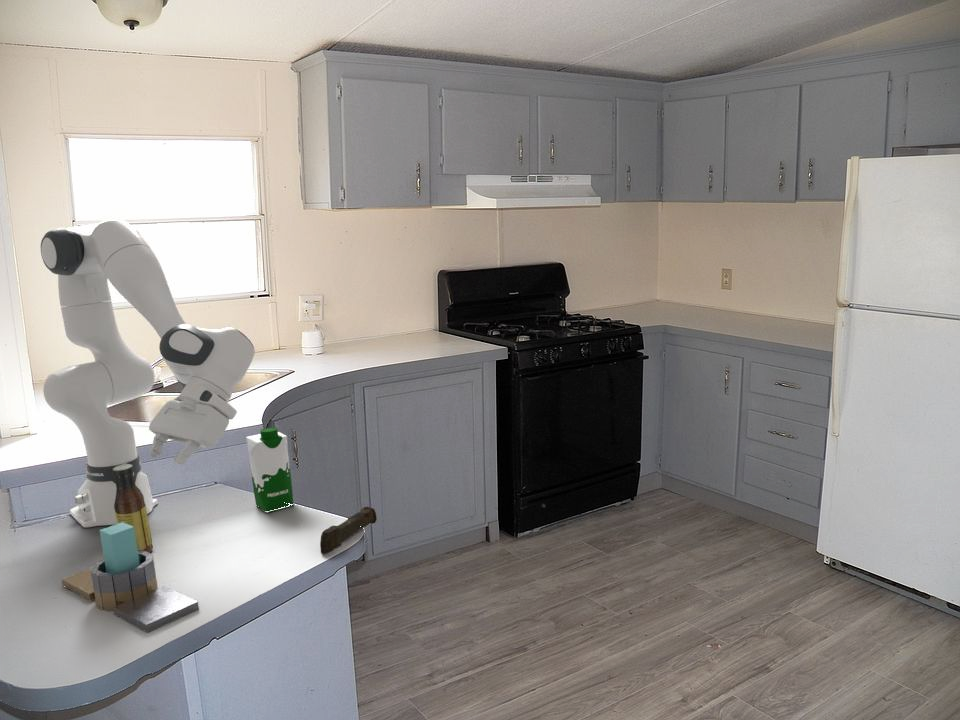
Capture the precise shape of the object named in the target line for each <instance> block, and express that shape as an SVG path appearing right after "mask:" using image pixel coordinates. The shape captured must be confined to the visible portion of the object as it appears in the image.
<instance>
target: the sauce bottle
mask: <svg viewBox="0 0 960 720" xmlns="http://www.w3.org/2000/svg"><path fill="white" fill-rule="evenodd" d="M133 471H134V469H133V466H132V465H131V464H125V465H120V466H116V467H115V468H113V475H114V476H115V481H116V498H115V503H114V510H115V515H116V520H117V524H119V523H122V522H123V523H126V524H128V525H131V526H133V527H134V530H135V537H136V543H137V550H138V551H146V552H148V553H151V552H152V551H153V549H154V548H153V547H154V545H153V538H152V532H151V526H150V521H149V517H148V514H147V510H146V505H145V502H144V497H143V494H142V492H141V491H140V489H139V488H138V487H137V486H136V485H135V480H134V475H133Z"/></svg>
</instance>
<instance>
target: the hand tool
mask: <svg viewBox="0 0 960 720" xmlns="http://www.w3.org/2000/svg"><path fill="white" fill-rule="evenodd" d="M376 522H377V512H376V510H375V508H373V507H370V506H363V507H362V508H360V510H359V512H356V513H355V514H353V515H352V516H349V517H348V518H347V519H346V520H344V521H343V522H342V523H340V524H339V525H331V526H329V527H328V528H326V529H324V530H323V531H322V533H321V534H320V542H319V545H320V554H321V555H324V554H326V553H329V552H332V551H333V550H336V549H338V548H340V547H342V543H343V542H344V541H345V540H347V539H349V538H350V537H351V536H353V535H354V534H356V533H357V532H358V531H360V530H362V529H364V528H365V527H367V526H368V525H369V524H376ZM360 526H361V527H360Z"/></svg>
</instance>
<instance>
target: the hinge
mask: <svg viewBox="0 0 960 720" xmlns="http://www.w3.org/2000/svg"><path fill="white" fill-rule="evenodd" d="M138 556H139V563H140V565H139V566H137V567H135V568H132V569H130V570H127V571H122V572H116V573H106V568H105V562H104V558H102V559H100V560H99V561H98V562H96V563H95V564H93V565H92V566H91V567H90V568H88V569H84V570H82V571H80V572H77V573H74V574H71V575H69V576H66V577H63V578H61V584H62V587H63V586H65V587H67V588H68V590H69V589H70V590H69V591H71V592H73V593H74V592H75V594H76V593H77V594H76V595H78V594H79V595H78V596H80V595H81V596H80V597H82V596H83V597H84V599H85V598H86V600H87V599H88V601H89V600H90V601H89V602H92V601H94V600H93V599H95V605H96V607H97V608H98V609H100V608H101V609H100V610H102V611H103V610H108V611H107V612H113V613H114V614H115V615H114V616H116V615H117V616H116V617H118V618H120V617H121V618H120V619H122V620H123V619H124V621H125V620H126V622H127V621H128V622H127V623H129V624H130V625H132V626H135V627H136V628H137V629H140V630H142V631H143V632H146V633H147V634H148V633H150V632H153V631H155V630H157V629H158V628H161V627H163V626H166V625H168V624H170V623H172V622H175V621H176V620H179V619H181V618H183V617H184V616H187V615H189V614H191V613H194V612H196V611H198V610H199V608H200V607H199V601H197V600H195V599H194V598H191V597H189V596H187V595H185V594H183V593H180V592H178V591H177V590H174V589H172V588H170V587H167V586H165V585H162V586H158V580H157V572H156V568H155V561H154V554H152V553H151V552H149V553H148V552H146V551H138ZM65 587H64V588H65ZM67 588H66V589H67ZM83 597H82V598H83ZM91 600H92V601H91ZM110 610H111V611H110Z"/></svg>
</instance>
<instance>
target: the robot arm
mask: <svg viewBox="0 0 960 720" xmlns="http://www.w3.org/2000/svg"><path fill="white" fill-rule="evenodd" d="M41 239H42V240H41V242H40V254H41V259H42V262H43V264H44V266H45V267H46V268H47V270H49V271H50V272H51V273H52V274H54V275H57V283H58V284H57V285H58V287H57V288H58V298H59V303H60V311H61V315H62V320H63V326H64V331H65V335H66V338H67V339H68V340H69V342H71V343H73V345H76V346H78V347H81V348H83V349H88V350H89V351H90V352H91V353H92V355H93V358H94V361H91V362H86V363H80V364H76V365H70V366H67V367H64V368H62V369H59V370H56V371H54V372H52V373H50V374H48V375H47V377H46V379H45V381H44V384H43V391H42V392H43V397H44V400H45V402H46V403H47V405H48V406H49V407H50V408H51V409H52V410H54V411H55V412H56V413H58V414H61V415H63V416H65V417H67V418H68V419H69V420H71V422H72V423H74V424H75V426H76V427H77V428H78V430H79V432H80V434H81V435H82V436H81V437H82V439H83V440H82V441H83V444H84V446H85V451H86V452H85V453H86V456H87V457H86V458H87V463H86V464H85V465H86V471H85V472H86V478H87V479H85V480H84V483H83V484H82V485H81V486H80V487H79V489H78V490H77V495H75V496H74V503H75V505H76V506H74V507H73V508H70V509H69V514H70V515H71V517H73V518H74V519H75V521H77V523H79V525H81V526H82V528H92V527H97V526H98V527H99V526H113V525H116V524H117V520H116V515H115V510H114V503H115V498H116V481H115V476H114V475H113V468H115V467H116V466H120V465H125V464H131V465H132V466H133V469H134V471H133V475H134V480H135V485H136V486H137V487H138V488H139V489H140V491H141V492H142V494H143V497H144V502H145V505H146V510H147V515H148V514H150V513H151V512H152V511H153V508H154V507H155V506H157V505H158V503H159V502H158V499H157V498H153V496H152V491H151V487H150V483H149V478H148V476H147V474H145V473H144V472H142V465H141V464H142V462H141V459H140V456H139V455H138V452H137V444H136V439H135V431H134V429H133V426H131V424H130V423H129V422H127V421H125V420H123V419H120V418H116V417H112V416H111V415H110V413H109V412H108V406H109V405H114V404H118V403H122V402H123V403H124V402H127V401H132V400H134V399H136V398H138V397H139V398H140V397H141V396H143V395H145V394H147V393H149V392H150V391H151V390H152V388H153V386H154V384H155V376H156V375H155V372H154V371H155V370H154V369H153V366H152V364H151V363H150V362H149V360H147V359H146V358H145V357H143V356H141V355H139V354H138V353H136V352H135V351H133V350H132V349H131V348H130V347H129V345H127V343H126V342H125V341H124V339H123V338H122V336H121V334H120V331H119V329H118V328H119V327H118V324H117V321H116V320H117V319H116V317H115V311H114V307H113V301H112V298H111V293H110V288H109V284H108V282H110V284H111V285H112V286H113V287H114V289H115V290H117V292H118V293H119V294H120V295H121V296H122V297H123V298H124V299H125V300H126V301H127V302H128V303H129V304H130V305H131V306H132V307H133V308H134V309H136V311H137V312H139V313H140V315H141V316H142V317H143V318H144V320H146V321H147V322H148V323H149V324H150V325H151V326H152V327H153V330H154V331H156V334H157V336H159V338H160V341H159V347H158V348H159V352H160V355H161V357H162V359H163V361H164V362H165V363H166V365H167V366H168V368H169V369H170V370H171V372H172V374H173V375H174V377H175V379H176V381H177V383H178V385H179V386H180V387H181V388H182V390H181V392H180V394H179V395H178V396H176V398H174V399H172V400H169V401H167V402H166V403H165V404H164V405H163V406H162V407H161V408H160V409H159V411H158V412H157V413H156V415H155V416H154V417H153V419H151V422H150V423H149V425H148V431H150V432H152V434H155V435H154V437H153V441H152V444H151V445H152V446H151V447H150V449H149V451H148V454H149V455H150V456H151V457H153V458H160V457H161V455H162V454H163V450H162V449H163V446H164V444H166V443H167V442H168V440H172V441H175V442H180V443H183V444H184V445H185V446H184V448H182V450H180V451H179V452H178V451H177V452H176V454H175V456H174V457H173V461H174V462H175V463H177V464H178V465H185V464H186V462H187V460H188V459H189V458H191V456H193V455H194V454H195V453H196V452H197V451H198V450H199V448H204V449H212V448H213V447H215V445H216V444H217V443H218V442H219V441H220V440H221V437H222V436H223V434H225V431H226V430H227V428H228V426H229V424H230V420H234V418H235V416H236V415H237V413H238V412H237V410H236V408H234V407H233V406H232V405H231V404H230V403H229V402H230V399H231V398H232V395H233V392H234V389H235V388H236V387H237V386H238V385H239V384H240V383H241V381H242V380H243V378H244V377H245V375H246V373H247V372H248V370H249V367H250V366H251V364H252V362H253V359H254V357H255V354H256V350H255V347H254V344H253V343H252V342H251V340H250V339H249V338H248V337H247V336H246V335H245V334H244V333H243V332H241V331H240V330H238V329H237V328H234V327H230V326H229V327H225V328H224V327H223V328H221V329H210V328H202V327H197V326H194V325H192V324H187V323H186V321H185V320H184V319H183V317H182V315H181V314H180V312H179V310H178V308H177V306H176V303H175V301H174V298H173V295H172V292H171V290H170V286H169V283H168V281H167V279H166V276H165V273H164V270H163V268H162V266H161V263H160V262H159V259H158V257H157V256H156V254H155V253H154V251H153V249H152V248H151V246H149V243H147V242H146V240H145V239H144V238H143V236H142V235H141V234H140V233H139V231H138V230H137V228H136V227H134V226H132V225H131V224H130V223H128V222H127V221H125V220H122V219H119V218H109V219H106V220H103V221H101V222H99V223H95V224H94V223H93V224H92V223H91V224H87V225H79V226H71V227H67V228H65V227H58V228H55V229H52V230H49V231H46V233H45V234H44V235H43V236H42V238H41Z"/></svg>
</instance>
